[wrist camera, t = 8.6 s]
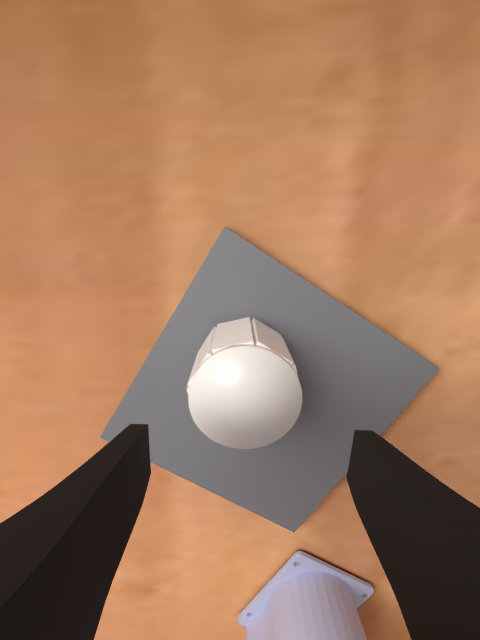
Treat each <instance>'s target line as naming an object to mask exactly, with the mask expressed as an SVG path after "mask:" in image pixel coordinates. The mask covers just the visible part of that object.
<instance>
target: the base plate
mask: <svg viewBox="0 0 480 640" xmlns="http://www.w3.org/2000/svg"><path fill="white" fill-rule="evenodd" d="M247 317H250V321H252V319H253V318H255V319H257V320H258V321H260V322H261V323H263V324H265V325H266V326H268V327H270V328H271V329H273V330H275V331H276V332H278V333H280V334H281V336H282V337H283V339H284V341H285V343H286V345H287V348H288V350H289V352H290V354H291V356H292V359H293V361H294V363H295V365H296V369H297V374H298V380H299V382H300V385H301V389H302V401H303V402H302V406H301V411H300V414H299V416H298V418H297V420H296V422H295V424H294V425H293V427H292V428H291V429H290V430H289V431H288V432H287V433H286V434H285V435H284V436H283V437H281V438H280V439H278V440H277V441H275V442H273V443H271V444H269V445H266V446H263V447H259V448H254V449H235V448H230V447H226V446H223V445H221V444H218V443H216V442H214V441H213V440H211V439H210V438H208V437H207V436H206V435H205V434H204V433H203V432H202V431H201V430H200V429H199V428H198V427H197V425H196V424H195V422H194V420H193V418H192V416H191V413H190V409H189V403H188V393H187V386H188V385H187V384H188V380H189V377H190V374H191V371H192V368H193V365H194V362H195V359H196V356H197V353H198V351H199V349H200V348H201V346H202V345H203V343H204V342H205V340H206V338H207V337H208V335H209V334H210V332H211V331H212V329H213V327H214V326H215V327H216V328H217V324H220V323H224V322H229V321H234V320H238V319H243V318H247ZM439 369H440V368H439V367H437V366H436V365H434V364H433V363H431V362H430V361H428V360H427V359H425V358H424V357H422V356H420V355H419V354H417V353H416V352H414V351H413V350H411V349H410V348H408V347H407V346H405V345H404V344H402V343H401V342H399V341H398V340H396V339H395V338H393V337H392V336H390V335H389V334H387V333H386V332H384V331H383V330H381V329H380V328H378V327H377V326H375V325H374V324H372V323H370V322H369V321H367V320H366V319H364V318H363V317H361V316H360V315H358V314H357V313H355V312H354V311H352V310H351V309H349V308H348V307H346V306H345V305H343V304H342V303H340V302H339V301H337V300H336V299H334V298H333V297H331V296H330V295H328V294H327V293H325V292H324V291H322V290H320V289H319V288H317V287H316V286H314V285H313V284H311V283H310V282H308V281H307V280H305V279H304V278H302V277H301V276H299V275H298V274H296V273H295V272H293V271H292V270H290V269H289V268H287V267H286V266H284V265H283V264H281V263H280V262H278V261H277V260H275V259H274V258H272V257H270V256H269V255H267V254H266V253H264V252H263V251H261V250H260V249H258V248H257V247H255V246H254V245H252V244H251V243H249V242H248V241H246V240H245V239H243V238H242V237H240V236H239V235H237V234H236V233H234V232H233V231H231V230H230V229H228V228H227V227H224V229H223V230H222V232H221V234H220V236H219V237H218V239H217V241H216V242H215V244H214V246H213V247H212V249H211V251H210V252H209V254H208V256H207V257H206V259H205V261H204V263H203V264H202V266H201V268H200V269H199V271H198V273H197V274H196V276H195V278H194V279H193V281H192V283H191V284H190V286H189V288H188V290H187V291H186V293H185V295H184V296H183V298H182V300H181V301H180V303H179V305H178V306H177V308H176V310H175V311H174V313H173V315H172V316H171V318H170V320H169V322H168V323H167V325H166V327H165V328H164V330H163V332H162V333H161V335H160V337H159V338H158V340H157V342H156V343H155V345H154V347H153V349H152V350H151V352H150V354H149V355H148V357H147V359H146V360H145V362H144V364H143V365H142V367H141V369H140V370H139V372H138V374H137V376H136V377H135V379H134V381H133V382H132V384H131V386H130V387H129V389H128V391H127V392H126V394H125V396H124V397H123V399H122V401H121V403H120V404H119V406H118V408H117V409H116V411H115V413H114V414H113V416H112V418H111V419H110V421H109V423H108V424H107V426H106V428H105V430H104V431H103V433H102V435H101V436H100V437H101V438H103V439H105V440H107V441H109V442H110V441H111V440H112V439H114V438H115V437H116V436H117V435H118V434H119V433H120V432H122V431H123V430H124V429H125V428H126V427H127V426H129V425H130V424H148V429H149V448H150V462H152V463H154V464H156V465H158V466H160V467H162V468H164V469H166V470H168V471H170V472H172V473H174V474H176V475H178V476H180V477H182V478H184V479H186V480H188V481H190V482H192V483H194V484H196V485H199V486H201V487H203V488H205V489H207V490H209V491H211V492H213V493H215V494H217V495H219V496H221V497H223V498H225V499H227V500H229V501H231V502H233V503H235V504H237V505H239V506H241V507H243V508H245V509H248V510H250V511H252V512H254V513H256V514H258V515H260V516H262V517H264V518H266V519H268V520H270V521H272V522H274V523H276V524H278V525H280V526H282V527H284V528H286V529H288V530H290V531H292V532H295V531H296V530H297V529H298V527H299V526H300V525H301V524H302V523H303V522H304V521H305V520H306V518H307V517H308V516H309V515H310V514H311V513H312V512H313V511H314V509H315V508H316V507H317V506H318V505H319V504H320V503H321V502H322V500H323V499H324V498H325V497H326V496H327V495H328V494H329V493H330V491H331V490H332V489H333V488H334V487H335V486H336V485H337V484H338V482H339V481H340V480H341V479H342V478H343V477H344V476H345V475H346V473H347V472H348V466H349V460H350V454H351V449H352V443H353V437H354V431H355V430H372V431H374V432H375V433H376V434H378V435H379V436H380V435H381V434H382V433H383V432H384V431H385V430H386V428H387V427H388V426H389V425H390V424H391V423H392V422H393V421H394V419H395V418H396V417H397V416H398V415H399V414H400V413H401V412H402V410H403V409H404V408H405V407H406V406H407V405H408V404H409V403H410V401H411V400H412V399H413V398H414V397H415V396H416V395H417V394H418V392H419V391H420V390H421V389H422V388H423V387H424V386H425V385H426V383H427V382H428V381H429V380H430V379H431V378H432V377H433V376H434V374H435V373H436V372H437V371H438V370H439Z"/></svg>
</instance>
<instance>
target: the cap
mask: <svg viewBox="0 0 480 640" xmlns="http://www.w3.org/2000/svg"><path fill="white" fill-rule="evenodd" d="M187 385H188V386H187V393H188V403H189V409H190V413H191V416H192V418H193V420H194V422H195V424H196V425H197V427H198V428H199V429H200V430H201V431H202V432H203V433H204V434H205V435H206V436H207V437H208V438H210V439H211V440H213V441H214V442H216V443H218V444H221V445H223V446H226V447H230V448H235V449H254V448H259V447H263V446H266V445H269V444H271V443H273V442H275V441H277V440H278V439H280V438H281V437H283V436H284V435H285V434H286V433H287V432H288V431H289V430H290V429H291V428H292V427H293V425H294V424H295V422H296V420H297V418H298V416H299V414H300V411H301V406H302V402H303V401H302V389H301V385H300V382H299V380H298V374H297V369H296V365H295V363H294V361H293V359H292V356H291V354H290V352H289V350H288V348H287V345H286V343H285V341H284V339H283V337H282V336H281V334H280V333H278V332H276V331H275V330H273V329H271V328H270V327H268V326H266V325H265V324H263V323H261V322H260V321H258V320H257V319H255V318H253V319H252V321H250V317H247V318H243V319H238V320H234V321H229V322H224V323H220V324H217V328H216V327H215V326H214V327H213V329H212V331H211V332H210V334H209V335H208V337H207V338H206V340H205V342H204V343H203V345H202V346H201V348H200V349H199V351H198V353H197V356H196V359H195V362H194V365H193V368H192V371H191V374H190V377H189V380H188V384H187Z"/></svg>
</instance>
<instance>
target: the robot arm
mask: <svg viewBox="0 0 480 640" xmlns="http://www.w3.org/2000/svg"><path fill="white" fill-rule="evenodd" d="M150 474H151V468H150V448H149V429H148V424H130V425H129V426H127V427H126V428H125V429H124V430H123V431H122V432H120V433H119V434H118V435H117V436H116V437H115V438H114V439H112V440H111V441H110V442H109V443H108V444H107V445H105V446H104V447H103V448H102V449H101V450H100V451H99V452H97V453H96V454H95V455H94V456H93V457H91V458H90V459H89V460H88V461H87V462H86V463H84V464H83V465H82V466H81V467H79V468H78V469H77V470H75V471H74V472H73V473H72V474H70V475H69V476H68V477H66V478H65V479H64V480H63V481H61V482H60V483H59V484H57V485H56V486H55V487H54V488H52V489H51V490H49V491H48V492H47V493H45V494H44V495H43V496H41V497H40V498H38V499H37V500H35V501H34V502H32V503H31V504H29V505H28V506H26V507H25V508H23V509H22V510H20V511H19V512H17V513H16V514H14V515H13V516H11V517H10V518H8V519H7V520H5V521H3V522H2V523H0V640H94V637H95V634H96V630H97V627H98V624H99V620H100V617H101V614H102V611H103V607H104V604H105V601H106V598H107V595H108V592H109V589H110V587H111V584H112V581H113V578H114V576H115V573H116V571H117V568H118V566H119V563H120V561H121V558H122V555H123V553H124V550H125V548H126V545H127V543H128V540H129V538H130V535H131V533H132V530H133V527H134V525H135V522H136V520H137V517H138V514H139V512H140V509H141V507H142V504H143V500H144V497H145V493H146V490H147V486H148V482H149V478H150ZM347 481H348V484H349V487H350V491H351V494H352V497H353V500H354V503H355V506H356V509H357V511H358V514H359V516H360V518H361V520H362V523H363V525H364V527H365V529H366V532H367V534H368V536H369V538H370V540H371V543H372V545H373V547H374V549H375V551H376V554H377V556H378V558H379V560H380V562H381V565H382V567H383V569H384V571H385V573H386V576H387V578H388V580H389V582H390V584H391V587H392V589H393V592H394V594H395V596H396V599H397V601H398V604H399V606H400V609H401V612H402V615H403V617H404V620H405V623H406V626H407V628H408V631H409V634H410V637H411V639H412V640H480V508H479V507H477V506H476V505H474V504H472V503H471V502H469V501H468V500H466V499H465V498H464V497H462V496H461V495H459V494H458V493H456V492H455V491H453V490H452V489H450V488H449V487H448V486H446V485H445V484H443V483H442V482H440V481H439V480H438V479H436V478H435V477H434V476H432V475H431V474H429V473H428V472H427V471H425V470H424V469H423V468H421V467H420V466H419V465H417V464H416V463H415V462H413V461H412V460H411V459H410V458H408V457H407V456H406V455H404V454H403V453H402V452H400V451H399V450H398V449H397V448H395V447H394V446H393V445H391V444H390V443H389V442H387V441H386V440H385V439H383V438H382V437H381V436H379V435H378V434H376V433H375V432H374V431H372V430H355V431H354V437H353V443H352V449H351V454H350V460H349V466H348V472H347ZM373 593H374V589H373V587H372V585H371V584H369V583H367V582H365V581H363V580H361V579H359V578H357V577H355V576H353V575H351V574H349V573H347V572H344V571H342V570H340V569H338V568H336V567H334V566H332V565H330V564H328V563H326V562H324V561H322V560H319V559H317V558H315V557H313V556H311V555H309V554H307V553H305V552H303V551H297V552H296V553H295V554H294V555H293V556H292V557H291V558H290V559H289V560H288V561H287V562H286V563H285V564H284V566H283V567H282V568H281V569H280V570H279V571H278V572H277V573H276V574H275V575H274V577H273V578H272V579H271V580H270V581H269V582H268V583H267V584H266V585H265V586H264V587H263V589H262V590H261V591H260V592H259V593H258V594H257V595H256V596H255V597H254V598H253V600H252V601H251V602H250V603H249V604H248V605H247V606H246V607H245V608H244V609H243V611H242V612H241V613H240V614H239V615H238V623H239V624H240V625H243V626H245V627H246V633H247V640H367V639H366V636H365V633H364V630H363V626H362V623H361V620H360V617H359V614H358V611H357V608H358V607H359V606H360V605H362V604H363V603H364V602H365V601H366V600H367V599H368V598H369V597H370V596H371V595H372V594H373Z"/></svg>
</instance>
